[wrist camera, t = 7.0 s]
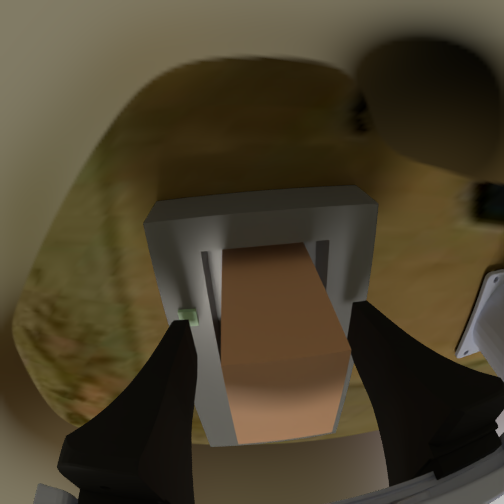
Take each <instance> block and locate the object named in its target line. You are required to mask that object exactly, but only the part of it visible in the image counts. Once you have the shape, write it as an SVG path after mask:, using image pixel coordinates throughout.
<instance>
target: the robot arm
mask: <svg viewBox="0 0 504 504" xmlns="http://www.w3.org/2000/svg"><path fill="white" fill-rule="evenodd" d="M347 340H348V343H349V345H350V347H351V355H352V359H353V361H354V364H355V366H356V368H357V371H358V373H359V375H360V377H361V380H362V382H363V384H364V387H365V389H366V391H367V394H368V396H369V398H370V401H371V404H372V406H373V409H374V413H375V416H376V420H377V423H378V427H379V431H380V435H381V440H382V444H383V448H384V454H385V459H386V465H387V472H388V479H389V487H388V488H385V489H382V490H378V491H375V492H372V493H368V494H364V495H360V496H356V497H353V498H348V499H344V500H340V501H335V502H330V503H325V504H489V503H491V502H492V501H494V500H496V499H497V498H499V497H500V496H502V495H503V494H504V433H503V434H502V435H501V436H500V437H499V436H498V434H497V433H496V431H495V430H496V429H497V428H498V425H497V423H496V422H495V420H496V419H497V417H498V416H499V415H500V414H501V412H502V411H503V410H504V269H502V270H497V271H492V272H489V273H488V274H487V275H486V276H485V278H484V281H483V284H482V287H481V290H480V293H479V296H478V299H477V302H476V304H475V307H474V310H473V312H472V315H471V317H470V320H469V322H468V325H467V327H466V330H465V332H464V335H463V337H462V339H461V341H460V344H459V346H458V348H457V350H456V353H455V355H456V357H457V358H461V357H464V356H467V355H470V354H473V353H476V352H478V351H481V353H482V354H483V355H484V357H485V358H486V360H487V361H488V362H489V364H490V365H491V367H492V368H493V370H494V371H495V373H496V374H497V375H498V377H496V376H492V375H489V374H485V373H482V372H479V371H476V370H473V369H470V368H468V367H465V366H463V365H460V364H458V363H456V362H454V361H452V360H450V359H447V358H445V357H444V356H442V355H440V354H438V353H436V352H435V351H433V350H431V349H430V348H428V347H426V346H425V345H423V344H421V343H420V342H419V341H417V340H416V339H414V338H413V337H411V336H410V335H409V334H407V333H406V332H405V331H403V330H402V329H401V328H399V327H398V326H397V325H396V324H394V323H393V322H392V321H391V320H389V319H388V318H387V317H386V316H385V315H383V314H382V313H381V312H380V311H379V310H377V309H376V308H375V307H374V306H373V305H371V304H370V303H369V302H368V301H359V302H353V303H352V310H351V317H350V323H349V329H348V335H347ZM197 370H198V355H197V351H196V347H195V344H194V340H193V336H192V332H191V328H190V323H189V319H187V320H174V321H173V322H172V323H171V324H170V326H169V328H168V330H167V331H166V333H165V335H164V336H163V338H162V340H161V341H160V343H159V345H158V346H157V348H156V349H155V351H154V352H153V354H152V355H151V357H150V358H149V360H148V361H147V362H146V364H145V365H144V366H143V368H142V369H141V371H140V372H139V373H138V375H137V376H136V377H135V378H134V379H133V381H132V382H131V383H130V384H129V385H128V386H127V388H126V389H125V390H124V391H123V392H122V393H121V394H120V395H119V396H118V397H117V398H116V399H115V400H114V401H113V402H112V403H111V404H110V405H109V406H107V407H106V408H105V409H104V410H103V411H102V412H100V413H99V414H98V415H97V416H95V417H94V418H93V419H91V420H90V421H89V422H87V423H86V424H84V425H83V426H81V427H80V428H78V429H77V430H75V431H74V432H72V433H70V434H69V435H67V436H66V438H65V440H64V443H63V446H62V449H61V453H60V457H59V461H58V465H57V468H58V470H59V472H60V473H61V474H62V475H63V476H64V477H66V478H67V479H68V480H70V481H71V482H72V483H73V484H75V485H76V486H77V487H78V488H80V493H79V498H78V499H76V498H75V497H74V496H73V495H71V494H70V493H68V492H66V491H64V490H61V489H58V488H54V487H50V486H47V485H44V484H41V483H40V484H38V486H37V490H36V494H35V498H34V503H33V504H195V502H194V491H193V478H192V477H193V476H192V452H191V430H192V418H193V410H194V401H195V393H196V385H197Z"/></svg>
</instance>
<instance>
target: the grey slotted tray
mask: <svg viewBox="0 0 504 504" xmlns="http://www.w3.org/2000/svg"><path fill="white" fill-rule="evenodd" d="M377 214H378V203H377V202H376V201H375V200H373V199H372V198H371V197H370V196H369V195H367V194H366V193H365V192H364V191H362V190H361V189H360V188H359V187H357V186H356V185H346V186H325V187H306V188H290V189H276V190H263V191H250V192H239V193H228V194H217V195H207V196H198V197H189V198H180V199H171V200H163V201H156V203H155V205H154V206H153V208H152V210H151V211H150V213H149V215H148V216H147V218H146V220H145V221H144V223H143V225H144V229H145V234H146V238H147V243H148V247H149V251H150V256H151V260H152V264H153V268H154V272H155V276H156V280H157V284H158V288H159V291H160V295H161V299H162V303H163V306H164V310H165V313H166V317H167V320H168V324H169V326H170V324H171V323H172V322H173V321H174V320H187V319H189V323H190V328H191V332H192V336H193V340H194V344H195V347H196V351H197V355H198V370H197V385H196V393H195V401H194V404H195V407H196V409H197V412H198V415H199V417H200V420H201V423H202V425H203V428H204V430H205V433H206V436H207V438H208V441H209V443H210V446H211V447H216V446H236V445H250V444H261V443H271V442H280V441H287V440H295V439H302V438H308V437H314V436H320V435H325V434H331V433H336V429H337V426H338V422H339V419H340V415H341V412H342V408H343V404H344V401H345V397H346V393H347V389H348V385H349V381H350V377H351V373H352V368H353V364H354V361H353V359H352V355H350V360H349V364H348V369H347V374H346V378H345V382H344V387H343V391H342V395H341V399H340V403H339V407H338V411H337V415H336V419H335V423H334V426H333V430H332V432H330V433H325V434H319V435H313V436H307V437H301V438H294V439H287V440H279V441H270V442H260V443H249V444H238V441H237V437H236V432H235V428H234V424H233V419H232V415H231V411H230V406H229V402H228V397H227V392H226V388H225V383H224V378H223V373H222V369H221V289H222V250H223V249H234V248H245V247H256V246H267V245H278V244H289V243H301V242H303V243H304V245H305V247H306V249H307V251H308V253H309V255H310V257H311V260H312V262H313V264H314V266H315V268H316V270H317V273H318V275H319V277H320V279H321V281H322V283H323V286H324V288H325V290H326V292H327V295H328V297H329V299H330V301H331V304H332V306H333V308H334V310H335V313H336V315H337V317H338V319H339V322H340V324H341V326H342V329H343V331H344V333H345V336H346V338H347V335H348V329H349V323H350V317H351V310H352V303H353V302H359V301H366V298H367V292H368V286H369V279H370V273H371V266H372V258H373V250H374V242H375V234H376V224H377Z"/></svg>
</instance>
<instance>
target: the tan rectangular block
mask: <svg viewBox="0 0 504 504" xmlns="http://www.w3.org/2000/svg"><path fill="white" fill-rule="evenodd" d="M350 355H351V347H350V345H349V343H348V340H347V338H346V336H345V333H344V331H343V329H342V326H341V324H340V322H339V319H338V317H337V315H336V313H335V310H334V308H333V306H332V304H331V301H330V299H329V297H328V295H327V292H326V290H325V288H324V286H323V283H322V281H321V279H320V277H319V275H318V273H317V270H316V268H315V266H314V264H313V262H312V260H311V257H310V255H309V253H308V251H307V249H306V247H305V245H304V243H303V242H301V243H289V244H278V245H267V246H256V247H245V248H234V249H223V250H222V289H221V369H222V373H223V378H224V383H225V388H226V392H227V397H228V402H229V406H230V411H231V415H232V419H233V424H234V428H235V432H236V437H237V441H238V444H249V443H260V442H270V441H279V440H287V439H294V438H301V437H307V436H313V435H319V434H325V433H330V432H332V430H333V426H334V423H335V419H336V415H337V411H338V407H339V403H340V399H341V395H342V391H343V387H344V382H345V378H346V374H347V369H348V364H349V360H350Z"/></svg>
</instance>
